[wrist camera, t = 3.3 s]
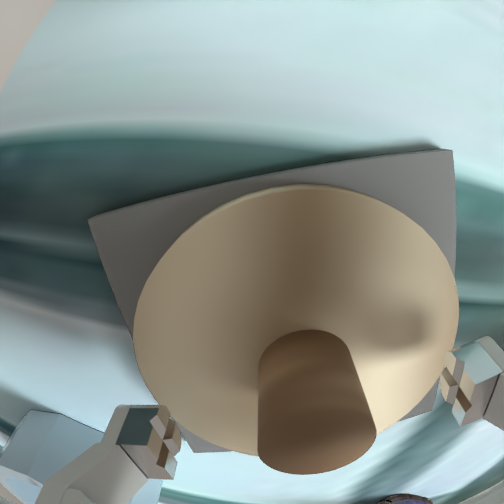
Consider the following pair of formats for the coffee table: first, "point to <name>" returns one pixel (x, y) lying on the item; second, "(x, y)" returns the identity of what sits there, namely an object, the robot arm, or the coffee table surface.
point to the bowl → (51, 455)
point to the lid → (296, 324)
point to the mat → (210, 197)
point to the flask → (406, 499)
